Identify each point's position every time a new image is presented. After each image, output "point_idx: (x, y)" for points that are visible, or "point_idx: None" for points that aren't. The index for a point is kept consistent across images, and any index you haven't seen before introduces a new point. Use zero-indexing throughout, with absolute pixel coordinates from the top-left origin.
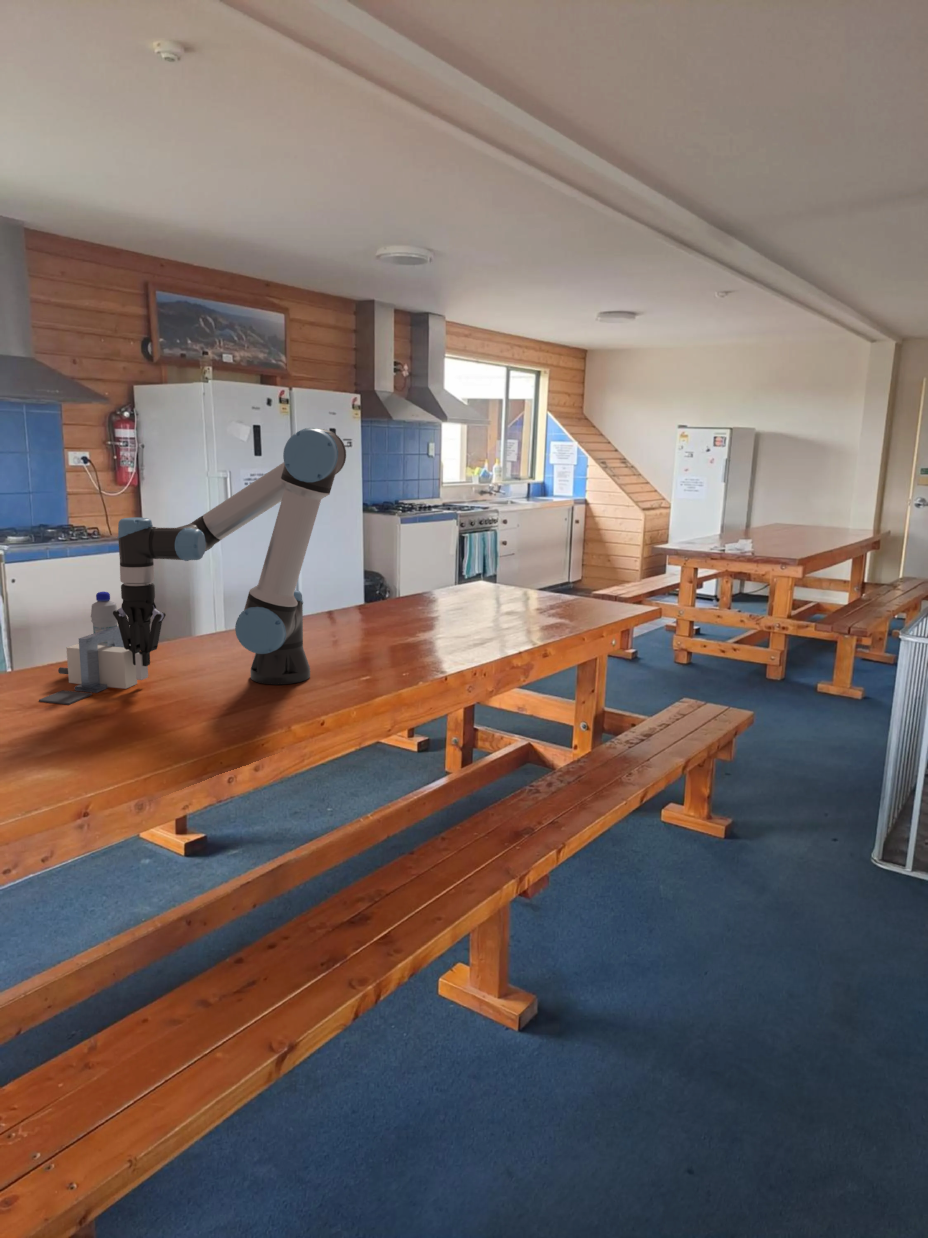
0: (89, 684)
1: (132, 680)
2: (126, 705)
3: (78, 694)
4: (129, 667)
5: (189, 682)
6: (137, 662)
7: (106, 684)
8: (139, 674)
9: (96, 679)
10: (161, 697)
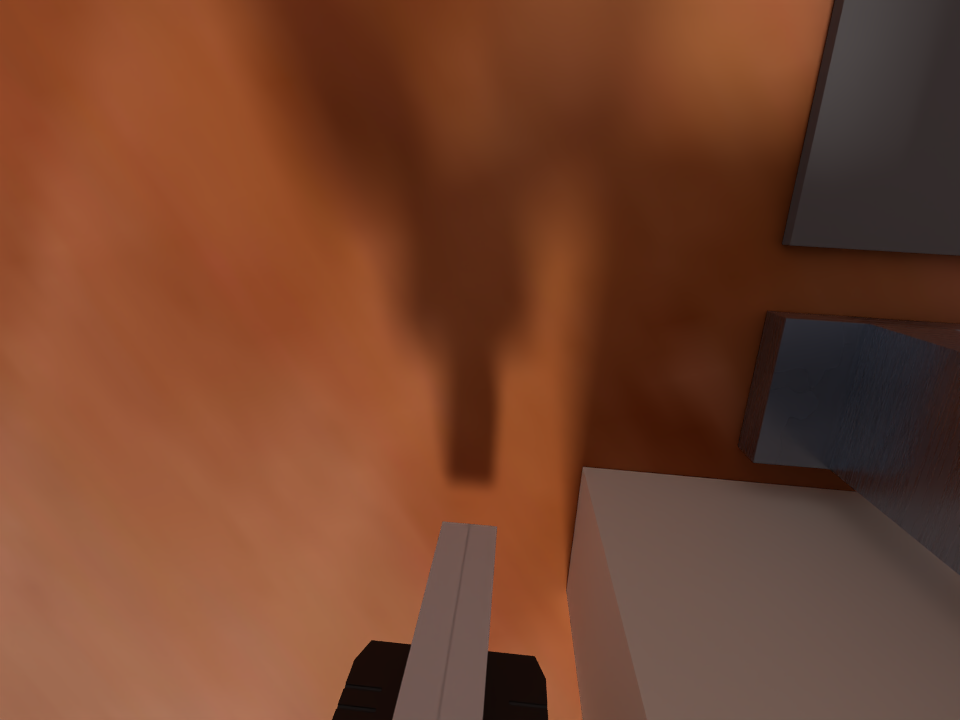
0: (891, 339)
1: (577, 572)
2: (316, 30)
3: (906, 175)
4: (600, 647)
5: (243, 675)
6: (457, 664)
7: (757, 456)
8: (455, 556)
9: (875, 452)
10: (193, 324)
